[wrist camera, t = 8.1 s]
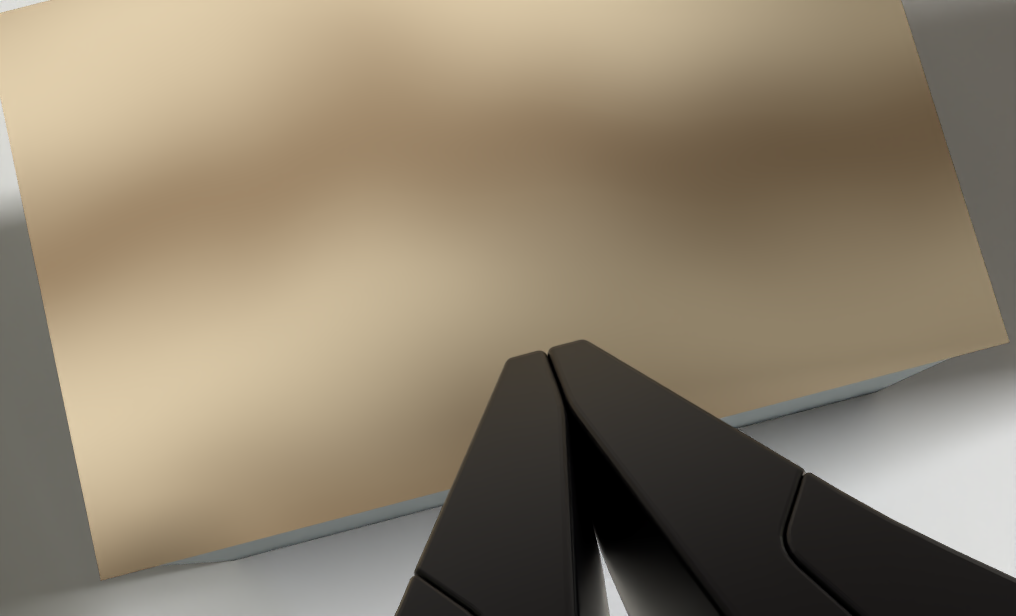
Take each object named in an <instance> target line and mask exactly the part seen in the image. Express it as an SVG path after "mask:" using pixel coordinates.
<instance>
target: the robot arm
mask: <svg viewBox="0 0 1016 616" xmlns="http://www.w3.org/2000/svg"><path fill="white" fill-rule="evenodd" d="M547 354H548V356H547ZM547 354H546V353H545V352H544V351H534V352H531V353H527V354H523V355H519V356H515V357H511V358H509V359H508V360H507V361H506V362H505V364H504V367H503V369H502V371H501V374H500V376H499V378H498V380H497V383H496V385H495V387H494V390H493V392H492V394H491V397H490V399H489V401H488V403H487V406H486V408H485V410H484V413H483V415H482V417H481V419H480V422H479V424H478V426H477V429H476V431H475V433H474V436H473V438H472V440H471V442H470V445H469V447H468V449H467V452H466V454H465V456H464V458H463V461H462V463H461V465H460V468H459V470H458V472H457V475H456V477H455V479H454V481H453V484H452V486H451V488H450V491H449V493H448V495H447V498H446V500H445V502H444V504H443V507H442V509H441V511H440V514H439V516H438V518H437V520H436V523H435V525H434V527H433V530H432V532H431V534H430V537H429V539H428V541H427V543H426V546H425V548H424V550H423V553H422V555H421V557H420V559H419V562H418V564H417V566H416V569H415V571H414V575H415V576H413V577H412V578H411V579H410V581H409V584H408V586H407V588H406V591H405V593H404V595H403V598H402V600H401V602H400V605H399V607H398V609H397V611H396V613H395V615H394V616H610V614H609V607H608V601H607V594H606V587H605V581H604V574H603V569H602V563H601V558H600V553H599V548H598V544H599V547H600V550H601V553H602V555H603V558H604V560H605V563H606V565H607V568H608V570H609V573H610V575H611V577H612V579H613V582H614V584H615V586H616V588H617V591H618V593H619V595H620V598H621V600H622V602H623V604H624V607H625V609H626V611H627V613H628V616H1016V578H1014V577H1012V576H1010V575H1008V574H1006V573H1003V572H1001V571H999V570H997V569H995V568H993V567H991V566H988V565H986V564H984V563H982V562H980V561H978V560H975V559H973V558H971V557H969V556H967V555H965V554H962V553H960V552H958V551H956V550H954V549H952V548H950V547H948V546H946V545H944V544H942V543H940V542H938V541H936V540H933V539H931V538H929V537H927V536H925V535H923V534H921V533H919V532H917V531H915V530H913V529H911V528H909V527H907V526H905V525H903V524H901V523H899V522H897V521H895V520H893V519H891V518H889V517H887V516H885V515H884V514H882V513H880V512H878V511H876V510H875V509H873V508H871V507H869V506H867V505H866V504H864V503H862V502H860V501H858V500H857V499H855V498H853V497H851V496H849V495H848V494H846V493H844V492H842V491H841V490H839V489H837V488H835V487H834V486H832V485H830V484H829V483H827V482H825V481H824V480H822V479H820V478H819V477H817V476H815V475H814V474H812V473H806V474H805V471H804V470H803V468H801V467H799V466H798V465H796V464H794V463H793V462H791V461H789V460H788V459H786V458H784V457H783V456H781V455H779V454H778V453H776V452H774V451H773V450H771V449H769V448H768V447H766V446H764V445H762V444H761V443H759V442H757V441H756V440H754V439H752V438H751V437H749V436H747V435H746V434H744V433H742V432H741V431H739V430H737V429H736V428H734V427H732V426H730V425H729V424H727V423H725V422H724V421H722V420H720V419H719V418H717V417H715V416H714V415H712V414H710V413H709V412H707V411H705V410H704V409H702V408H700V407H699V406H697V405H695V404H693V403H692V402H690V401H688V400H687V399H685V398H683V397H682V396H680V395H678V394H677V393H675V392H673V391H672V390H670V389H668V388H667V387H665V386H663V385H662V384H660V383H658V382H656V381H655V380H653V379H651V378H650V377H648V376H646V375H645V374H643V373H641V372H640V371H638V370H636V369H635V368H633V367H631V366H630V365H628V364H626V363H625V362H623V361H621V360H619V359H618V358H616V357H614V356H613V355H611V354H609V353H608V352H606V351H604V350H603V349H601V348H599V347H598V346H596V345H594V344H593V343H591V342H589V341H587V340H584V339H581V340H576V341H573V342H569V343H565V344H561V345H557V346H554V347H552V348H550V349H549V350H548V353H547ZM596 538H597V540H596ZM597 541H598V544H597Z"/></svg>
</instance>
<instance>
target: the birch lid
mask: <svg viewBox="0 0 1016 616" xmlns="http://www.w3.org/2000/svg"><path fill="white" fill-rule="evenodd" d="M0 98H1V103H2V107H3V112H4V117H5V122H6V127H7V131H8V136H9V141H10V146H11V151H12V155H13V160H14V165H15V170H16V175H17V180H18V184H19V189H20V194H21V199H22V204H23V208H24V213H25V218H26V223H27V228H28V233H29V237H30V242H31V247H32V252H33V257H34V261H35V266H36V271H37V276H38V281H39V285H40V290H41V295H42V300H43V305H44V310H45V314H46V319H47V324H48V329H49V334H50V338H51V343H52V348H53V353H54V358H55V362H56V367H57V372H58V377H59V382H60V387H61V391H62V396H63V401H64V406H65V411H66V415H67V420H68V425H69V430H70V435H71V440H72V444H73V449H74V454H75V459H76V464H77V468H78V473H79V478H80V483H81V488H82V492H83V497H84V502H85V507H86V512H87V517H88V521H89V526H90V531H91V536H92V541H93V545H94V550H95V555H96V560H97V565H98V570H99V574H100V579H101V581H102V580H106V579H109V578H113V577H117V576H121V575H125V574H129V573H132V572H136V571H140V570H144V569H148V568H151V567H155V566H159V565H163V564H167V563H170V562H174V561H178V560H182V559H186V558H190V557H193V556H197V555H201V554H205V553H209V552H212V551H216V550H220V549H224V548H228V547H231V546H235V545H239V544H243V543H247V542H251V541H254V540H258V539H262V538H266V537H270V536H273V535H277V534H281V533H285V532H289V531H292V530H296V529H300V528H304V527H308V526H312V525H315V524H319V523H323V522H327V521H331V520H334V519H338V518H342V517H346V516H350V515H354V514H357V513H361V512H365V511H369V510H373V509H376V508H380V507H384V506H388V505H392V504H395V503H399V502H403V501H407V500H411V499H415V498H418V497H422V496H426V495H430V494H434V493H437V492H441V491H445V490H449V489H450V488H451V486H452V484H453V481H454V479H455V477H456V475H457V472H458V470H459V468H460V465H461V463H462V461H463V458H464V456H465V454H466V452H467V449H468V447H469V445H470V442H471V440H472V438H473V436H474V433H475V431H476V429H477V426H478V424H479V422H480V419H481V417H482V415H483V413H484V410H485V408H486V406H487V403H488V401H489V399H490V397H491V394H492V392H493V390H494V387H495V385H496V383H497V380H498V378H499V376H500V374H501V371H502V369H503V367H504V364H505V362H506V361H507V360H508V359H509V358H511V357H515V356H519V355H523V354H527V353H531V352H534V351H544V352H545V353H546V354H547V353H548V350H549V349H550V348H552V347H554V346H557V345H561V344H565V343H569V342H573V341H576V340H581V339H584V340H587V341H589V342H591V343H593V344H594V345H596V346H598V347H599V348H601V349H603V350H604V351H606V352H608V353H609V354H611V355H613V356H614V357H616V358H618V359H619V360H621V361H623V362H625V363H626V364H628V365H630V366H631V367H633V368H635V369H636V370H638V371H640V372H641V373H643V374H645V375H646V376H648V377H650V378H651V379H653V380H655V381H656V382H658V383H660V384H662V385H663V386H665V387H667V388H668V389H670V390H672V391H673V392H675V393H677V394H678V395H680V396H682V397H683V398H685V399H687V400H688V401H690V402H692V403H693V404H695V405H697V406H699V407H700V408H702V409H704V410H705V411H707V412H709V413H710V414H712V415H714V416H715V417H717V418H719V419H720V418H723V417H727V416H731V415H735V414H739V413H742V412H746V411H750V410H754V409H758V408H761V407H765V406H769V405H773V404H777V403H781V402H784V401H788V400H792V399H796V398H800V397H803V396H807V395H811V394H815V393H819V392H822V391H826V390H830V389H834V388H838V387H842V386H845V385H849V384H853V383H857V382H861V381H864V380H868V379H872V378H876V377H880V376H884V375H887V374H891V373H895V372H899V371H903V370H906V369H910V368H914V367H918V366H922V365H925V364H929V363H933V362H937V361H941V360H945V359H948V358H952V357H956V356H960V355H964V354H967V353H971V352H975V351H979V350H983V349H986V348H990V347H994V346H998V345H1002V344H1006V343H1009V338H1008V335H1007V332H1006V329H1005V326H1004V323H1003V319H1002V316H1001V313H1000V310H999V307H998V304H997V301H996V297H995V294H994V291H993V288H992V285H991V282H990V279H989V275H988V272H987V269H986V266H985V263H984V260H983V257H982V253H981V250H980V247H979V244H978V241H977V238H976V234H975V231H974V228H973V225H972V222H971V219H970V216H969V212H968V209H967V206H966V203H965V200H964V197H963V194H962V190H961V187H960V184H959V181H958V178H957V175H956V172H955V168H954V165H953V162H952V159H951V156H950V153H949V150H948V146H947V143H946V140H945V137H944V134H943V131H942V127H941V124H940V121H939V118H938V115H937V112H936V109H935V105H934V102H933V99H932V96H931V93H930V90H929V87H928V83H927V80H926V77H925V74H924V71H923V68H922V65H921V61H920V58H919V55H918V52H917V49H916V46H915V43H914V39H913V36H912V33H911V30H910V27H909V24H908V20H907V17H906V14H905V11H904V8H903V5H902V2H901V0H49V1H45V2H41V3H37V4H34V5H30V6H26V7H22V8H18V9H14V10H10V11H6V12H2V13H0ZM547 356H548V354H547Z"/></svg>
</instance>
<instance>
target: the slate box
mask: <svg viewBox="0 0 1016 616" xmlns="http://www.w3.org/2000/svg"><path fill="white" fill-rule="evenodd" d="M948 359H949V358H948ZM945 360H947V359H945ZM945 360H941V361H937V362H933V363H929V364H925V365H922V366H918V367H914V368H910V369H906V370H903V371H899V372H895V373H891V374H887V375H884V376H880V377H876V378H872V379H868V380H864V381H861V382H857V383H853V384H849V385H845V386H842V387H838V388H834V389H830V390H826V391H822V392H819V393H815V394H811V395H807V396H803V397H800V398H796V399H792V400H788V401H784V402H781V403H777V404H773V405H769V406H765V407H761V408H758V409H754V410H750V411H746V412H742V413H739V414H735V415H731V416H727V417H723V418H720V420H722V421H724V422H725V423H727V424H729V425H730V426H732V427H734V428H740V427H744V426H748V425H752V424H755V423H759V422H763V421H767V420H771V419H774V418H778V417H782V416H786V415H790V414H793V413H797V412H801V411H805V410H809V409H812V408H816V407H820V406H824V405H828V404H832V403H835V402H839V401H843V400H847V399H851V398H854V397H858V396H862V395H866V394H870V393H873V392H877V391H879V390H881V389H883V388H886V387H888V386H890V385H892V384H894V383H897V382H899V381H901V380H903V379H905V378H908V377H910V376H912V375H914V374H916V373H919V372H921V371H923V370H925V369H927V368H929V367H932V366H934V365H936V364H938V363H940V362H943V361H945ZM449 491H450V489H449V490H445V491H441V492H437V493H434V494H430V495H426V496H422V497H418V498H415V499H411V500H407V501H403V502H399V503H395V504H392V505H388V506H384V507H380V508H376V509H373V510H369V511H365V512H361V513H357V514H354V515H350V516H346V517H342V518H338V519H334V520H331V521H327V522H323V523H319V524H315V525H312V526H308V527H304V528H300V529H296V530H292V531H289V532H285V533H281V534H277V535H273V536H270V537H266V538H262V539H258V540H254V541H251V542H247V543H243V544H239V545H235V546H231V547H228V548H224V549H220V550H216V551H212V552H209V553H205V554H201V555H197V556H193V557H190V558H186V559H182V560H178V561H174V562H170V563H167V564H163V565H177V564H191V563H205V562H219V561H233V560H237V559H241V558H245V557H249V556H252V555H256V554H260V553H264V552H268V551H271V550H275V549H279V548H283V547H287V546H291V545H294V544H298V543H302V542H306V541H310V540H313V539H317V538H321V537H325V536H329V535H332V534H336V533H340V532H344V531H348V530H351V529H355V528H359V527H363V526H367V525H371V524H374V523H378V522H382V521H386V520H390V519H393V518H397V517H401V516H405V515H409V514H412V513H416V512H420V511H424V510H428V509H431V508H435V507H439V506H443V504H444V502H445V500H446V498H447V495H448V493H449ZM163 565H159V566H163Z"/></svg>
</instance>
